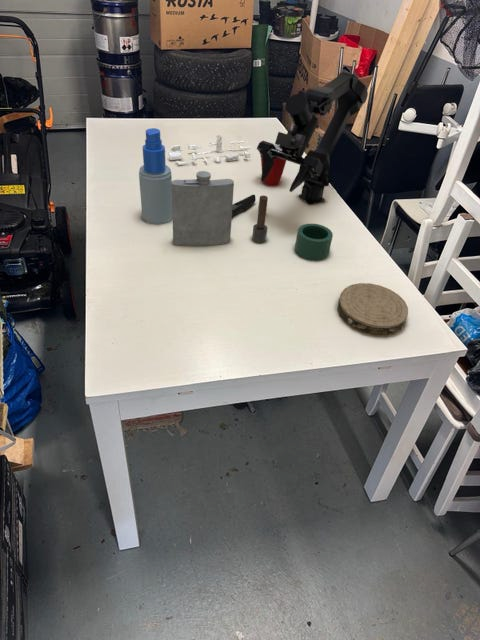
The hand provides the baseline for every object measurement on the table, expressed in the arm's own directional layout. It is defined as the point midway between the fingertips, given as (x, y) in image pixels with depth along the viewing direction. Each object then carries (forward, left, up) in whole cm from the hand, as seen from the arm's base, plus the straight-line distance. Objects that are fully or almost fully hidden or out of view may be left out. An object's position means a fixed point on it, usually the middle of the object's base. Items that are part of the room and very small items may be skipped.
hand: (276, 186), depth 127 cm
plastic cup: (-17, -27, -13) cm, 35 cm away
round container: (-4, +15, -13) cm, 20 cm away
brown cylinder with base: (+6, +4, -13) cm, 15 cm away
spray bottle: (+28, -19, -13) cm, 36 cm away
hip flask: (+22, -1, -13) cm, 26 cm away
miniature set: (-6, -53, -13) cm, 55 cm away
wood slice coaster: (-1, +43, -13) cm, 45 cm away
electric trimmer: (+4, -13, -13) cm, 19 cm away
